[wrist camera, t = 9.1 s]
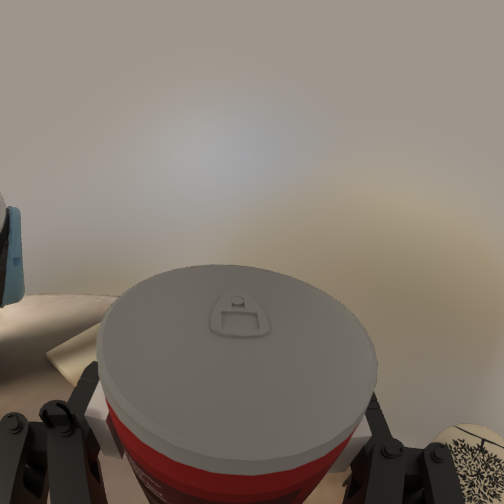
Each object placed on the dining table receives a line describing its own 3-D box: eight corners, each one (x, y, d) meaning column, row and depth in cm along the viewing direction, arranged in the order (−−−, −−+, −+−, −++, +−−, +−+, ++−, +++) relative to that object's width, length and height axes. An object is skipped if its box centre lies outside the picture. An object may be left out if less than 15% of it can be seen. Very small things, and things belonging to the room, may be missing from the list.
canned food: (259, 418, 17) (294, 256, 13) (320, 522, 10) (438, 387, 6) (135, 438, 14) (99, 267, 10) (169, 563, 7) (98, 492, 3)
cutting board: (47, 358, 35) (45, 353, 35) (122, 315, 49) (121, 310, 48) (128, 434, 28) (126, 429, 28) (206, 364, 41) (207, 358, 41)
